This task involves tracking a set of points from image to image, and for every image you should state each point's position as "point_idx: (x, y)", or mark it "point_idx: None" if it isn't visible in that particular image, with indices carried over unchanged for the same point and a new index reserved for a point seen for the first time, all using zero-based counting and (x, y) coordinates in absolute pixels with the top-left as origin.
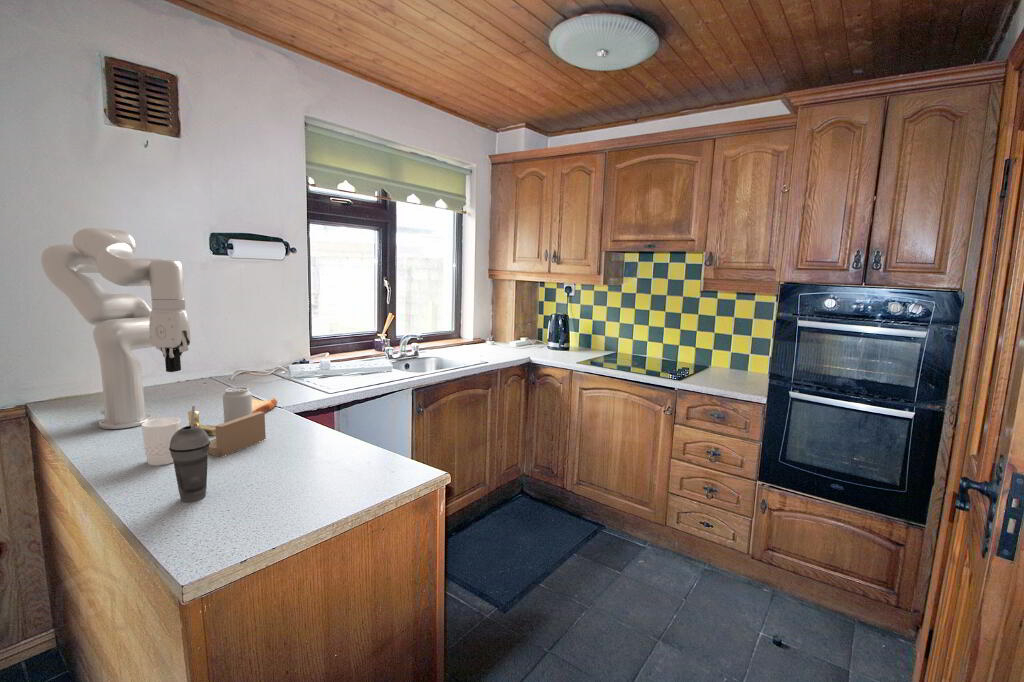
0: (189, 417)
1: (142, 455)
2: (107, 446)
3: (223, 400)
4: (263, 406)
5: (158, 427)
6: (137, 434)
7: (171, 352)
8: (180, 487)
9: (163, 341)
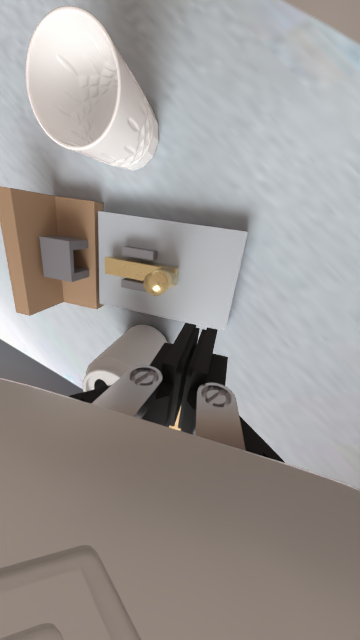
0: (160, 270)
1: (199, 144)
2: (338, 166)
3: (133, 359)
4: None
5: (35, 32)
6: (326, 265)
7: (121, 395)
8: None
9: (50, 485)
